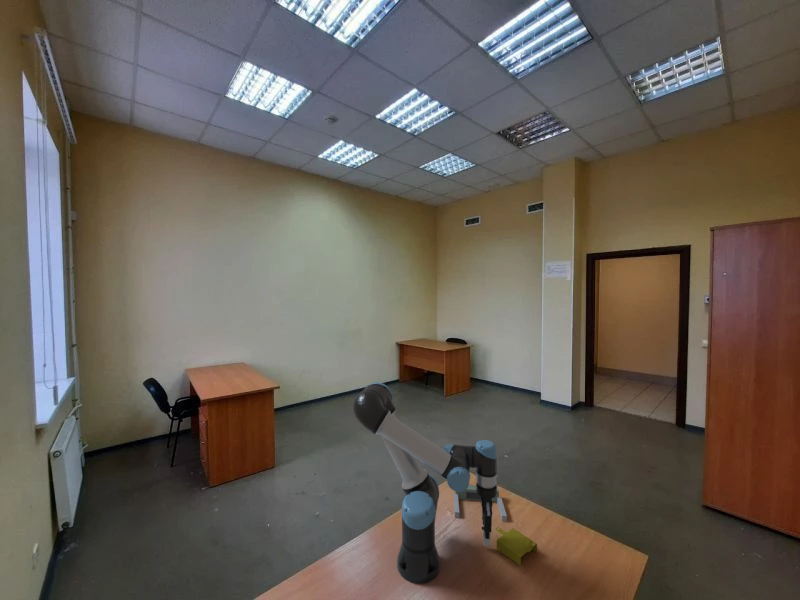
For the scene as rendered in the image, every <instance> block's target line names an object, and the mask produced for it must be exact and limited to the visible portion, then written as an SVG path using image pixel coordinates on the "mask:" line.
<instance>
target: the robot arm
mask: <svg viewBox="0 0 800 600" xmlns="http://www.w3.org/2000/svg"><path fill="white" fill-rule="evenodd" d="M392 400H393V394H392V391H391V389H390V387H389V386H388V385H386V384H385V383H382V382H372V383H370V384H369V385H367V386H365V388H364V389H363V390H362V391H361V392H360V393H359V394H357V395H356V397H355V399H354V401H353V404H352V410H353V414H354V417H355V418H356V420H357V421H358V422H359V423H360V424H361V425H362V426H363V428H365V429H366V430H368V431H369V432H370V433H373V435H375V436H378V435H380V437H381V439H382V441H383V444H384V445H385V447H386V449H387V451H388V453H389V455H390V457H391V459H392V461H393V463H394V465H395V468H396V469H397V472H398V473H399V475H400V476H401V479H402V483H401V488H402V490H403V492H404V494H405V497H404V498H403V501H402V504H401V530H402V531H401V540H402V541H401V545H400V549H399V551H398V554H397V558H396V560H397V563H396V565H397V566H396V567H397V571H398V573H399V574H400V576H401V577H402V578H403V579H405V581H407V582H410V583H413V584H426V583H430V582H432V581H433V580H434V579H435V578H436V577H437V576H438V574H439V573H440V568H441V567H440V566H441V561H440V560H441V558H440V556H439V553H438V549H437V547H436V535H435V534H436V527H435V525H436V518H437V517H436V516H437V509H438V503H439V499H440V488H439V487H440V486H439V483H438V482H437V480H436V479H435V477H434V476H432V475H431V474H429V471H428V470H427V469H425V468H422V467H421V464H420V463H419V462H421V463H422V464H424V465H425V466H426V467H428V468H430V469H431V470H432V471H434V472H436V473H437V474H438V475H439V476H441V477H443V478H444V479H446V483H447V485H448V487H449V488H450V490H451V491H454V492H455V491H456V492H462V491H465V490H466V489H467V488H468V486H469V485H470V481H471V480H470V479H471V474H470V473H471V472H470V471H471V470H470V468H471V469H475V478H476V479H475V481H476V482H475V483H476V484H475V485H476V492H477V494H478V495H479V496H480V497H481V513H482V514H481V515H482V516H481V520H482V525H483V526H481V530H482V544H483V546H484V547H492V546H491V545H492V543H491V541H492V540H491V539H492V538H491V537H492V536H491V535H492V534H491V533H492V532H493V531H492V530H493V529H492V526H493V525H492V521H493V520H492V518H493V503H494V502H492V498H494V497H496V495H497V487H498V486H497V479H498V478H499V475H497V474H498V473H497V461H498V460H497V459H498V456H497V454H498V453H497V446H496V444H495V443H494V442H493V441H491V440H488V439H482V440H481V439H480V440H477V442H476V443H475V445H471V446H470V445H464V444H463V445H461V444H446V445H445V446H444V449H443V448H441V447H439V446H438V445H437V444H435V443H434V442H432V441H430V440H429V439H427V438H426V437H425V436H423V435H422V434H421V433H419V432H417V431H416V430H414V429H413V428H411V427H410V426H408V425H407V424H406V423H404V422H402V421H401V420H399V419H397V416H396V415H395V414H396V411H397V409H396V407H395V404H394V403H393V401H392Z"/></svg>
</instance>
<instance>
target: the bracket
mask: <svg viewBox="0 0 800 600" xmlns="http://www.w3.org/2000/svg"><path fill="white" fill-rule="evenodd" d="M495 531H497V532H499V533H500V534H501V536H500V537H498V538H497V539H496V550H497V551H499V552H500V553H502V554H503V555H505V556H506V557H507V558H508V559H510V560H511V561H513V562H514V563H516V564H517V565H518V566H520V567H522V565H521V564H522V557H523V556H524V555H525V554H527V553H530V552H531V551H534V552H535V553H536V554H537V553H538V542H535V541H534V540H532V539H531V538H529V537H527V536H526V535H525V534H523V533H522V532H520V531H518V530H517V529H515V528H513V527H512V528H510V529H509V530H508V531H507V532H506V531H505V530H504V529H502V528H500V527H499V526H497V527H495Z"/></svg>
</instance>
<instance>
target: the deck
mask: <svg viewBox="0 0 800 600" xmlns="http://www.w3.org/2000/svg"><path fill="white" fill-rule="evenodd" d="M459 500H463V501H464V500H465V501H481V497H480V496H479V495H478V494H477V492H476V484H469V486H468V488H467V489H466V490H465V491H462V492H456V491H454V493H453V511H454V518H458V519H460V505H459ZM492 503H497V508H498V512H499V514H500V519H501V522H506V521H508V520H507V519H508V516H507V512H506V509H505V508H506V507H505V505H504V502H503V498H502V496H500V490H499V487H498V486H497V495H496V497H494V498H492Z"/></svg>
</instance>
